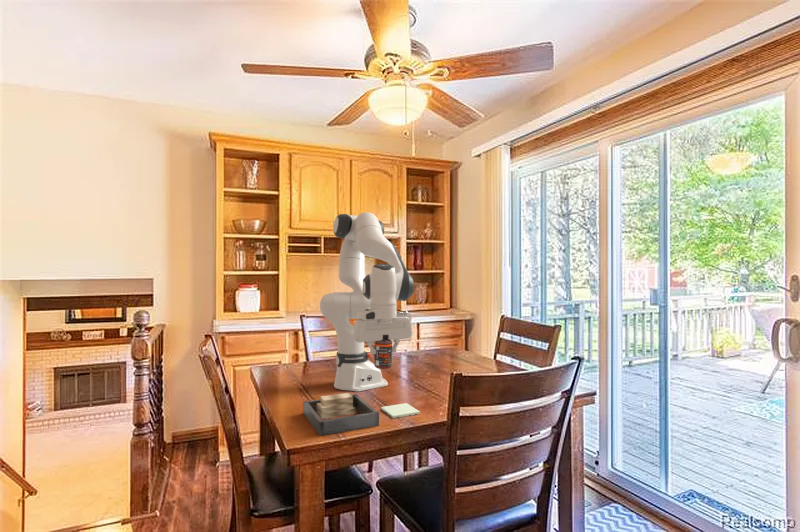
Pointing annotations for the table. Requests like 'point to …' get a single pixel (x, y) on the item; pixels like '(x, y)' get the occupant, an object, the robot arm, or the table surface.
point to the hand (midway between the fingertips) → (383, 353)
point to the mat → (400, 410)
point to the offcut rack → (342, 418)
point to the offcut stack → (335, 406)
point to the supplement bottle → (383, 353)
